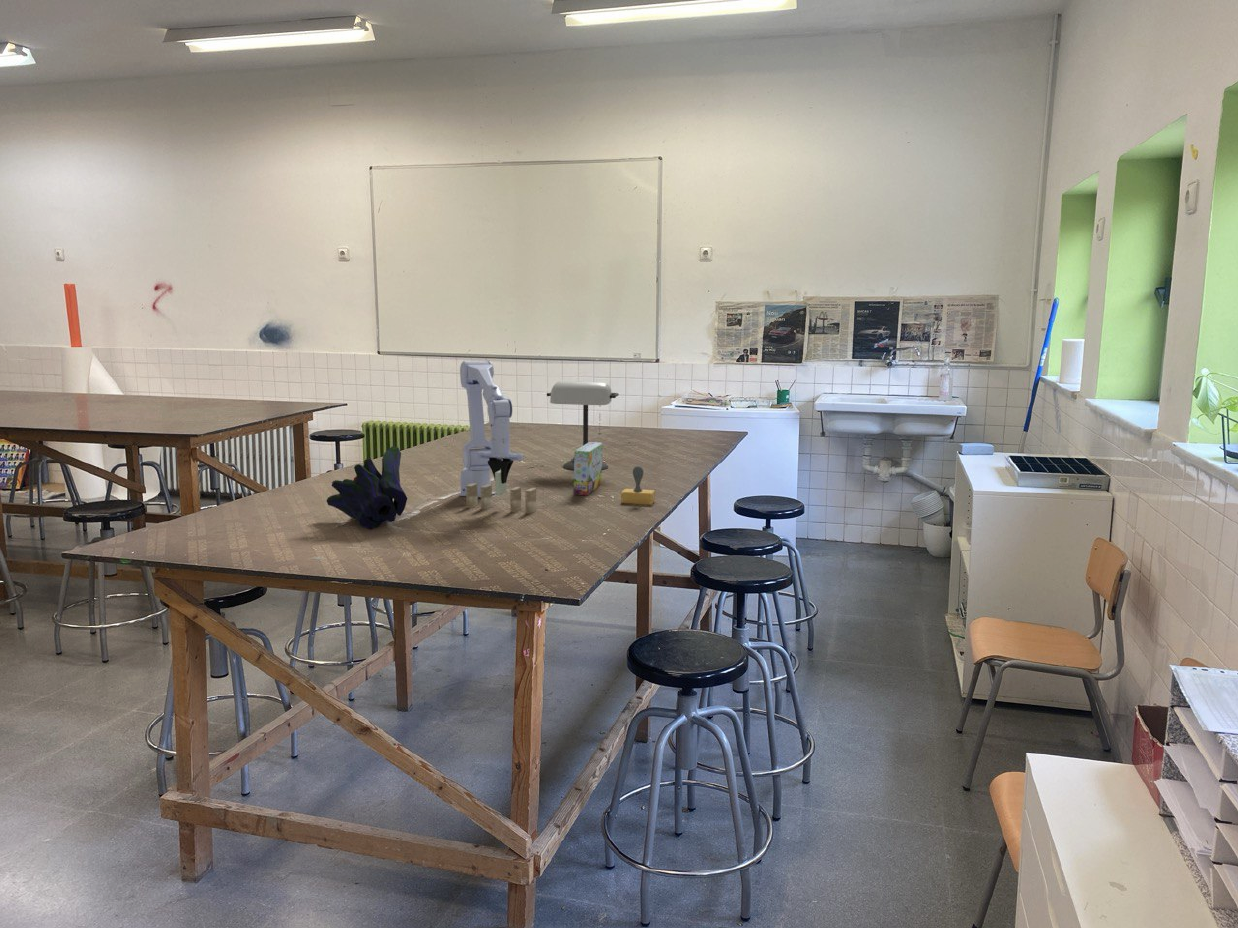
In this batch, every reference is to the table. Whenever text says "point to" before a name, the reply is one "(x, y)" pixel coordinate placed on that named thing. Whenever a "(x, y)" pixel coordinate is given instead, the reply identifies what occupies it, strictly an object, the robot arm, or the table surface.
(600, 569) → the table surface
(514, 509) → the domino
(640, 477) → the rubber stamp
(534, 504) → the domino
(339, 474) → the table surface
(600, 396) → the lamp
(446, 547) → the table surface
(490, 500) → the domino
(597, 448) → the snack box
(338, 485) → the dark blue lobed piece
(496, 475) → the domino
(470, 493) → the domino
